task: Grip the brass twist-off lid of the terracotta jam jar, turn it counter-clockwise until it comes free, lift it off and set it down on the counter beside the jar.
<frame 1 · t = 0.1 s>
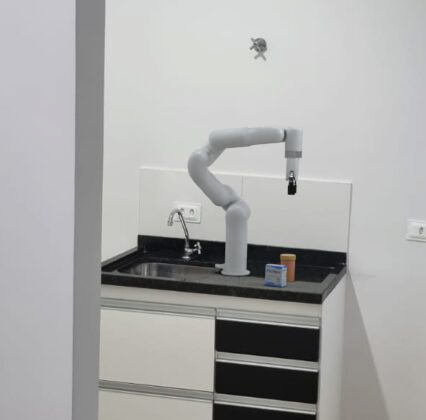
hand: (292, 194, 378), 37 cm above the counter, tool pointing down, fingers open, 9 cm apart
jam jar: (287, 280, 372), on the counter
jar lid: (288, 255, 371), point 11 cm above the counter, screwed on, not yet turned
medicine box: (275, 286, 358), on the counter
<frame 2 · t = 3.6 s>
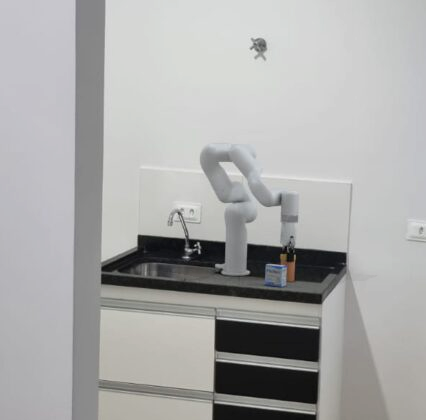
hand: (288, 260, 371), 9 cm above the counter, tool pointing down, fingers closed on jar lid, 6 cm apart
jar lid: (288, 255, 371), point 11 cm above the counter, screwed on, not yet turned, touching gripper
everything else where it was.
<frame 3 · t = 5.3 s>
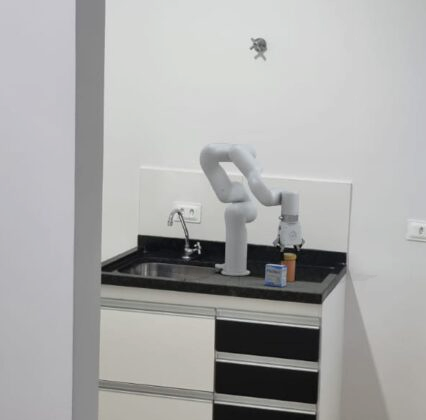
hand: (288, 259, 371), 9 cm above the counter, tool pointing down, fingers closed on jar lid, 6 cm apart
jar lid: (288, 255, 371), point 11 cm above the counter, turned 107° so far, risen 0.3 cm, still on its thread, touching gripper
everything else where it was.
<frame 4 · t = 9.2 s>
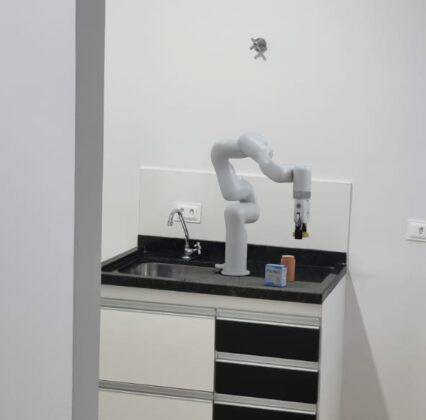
hand: (300, 238, 360), 20 cm above the counter, tool pointing down, fingers closed on jar lid, 6 cm apart
jar lid: (300, 233, 360), point 22 cm above the counter, off its thread, touching gripper
everything else where it was.
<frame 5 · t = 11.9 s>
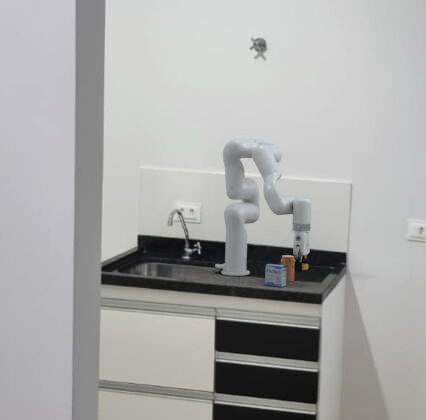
hand: (300, 269, 361), 6 cm above the counter, tool pointing down, fingers closed on jar lid, 6 cm apart
jar lid: (300, 265, 361), point 8 cm above the counter, off its thread, touching gripper
everything else where it was.
when the fingers open (0 cm above the counter, at t = 14.6 s): jar lid stays where it is, point 1 cm above the counter.
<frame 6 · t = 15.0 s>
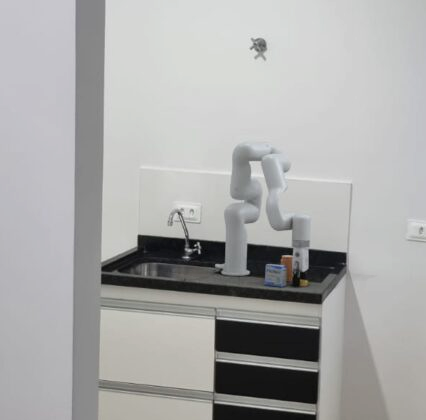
hand: (298, 284, 362), 0 cm above the counter, tool pointing down, fingers open, 9 cm apart
jar lid: (299, 281, 361), point 1 cm above the counter, off its thread
everything else where it was.
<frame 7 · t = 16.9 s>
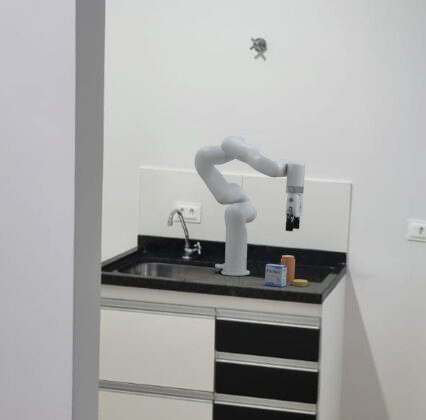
hand: (292, 229, 370), 22 cm above the counter, tool pointing down, fingers open, 9 cm apart
nothing on the counter moved.
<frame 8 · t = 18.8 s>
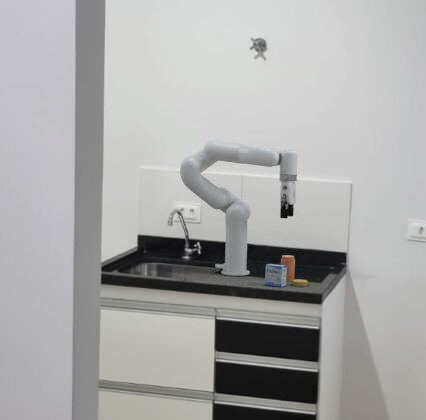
hand: (286, 217, 380), 26 cm above the counter, tool pointing down, fingers open, 9 cm apart
nothing on the counter moved.
at the end: jar lid came off its thread; jar lid point 1.4 cm above the counter; the gripper is holding nothing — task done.
